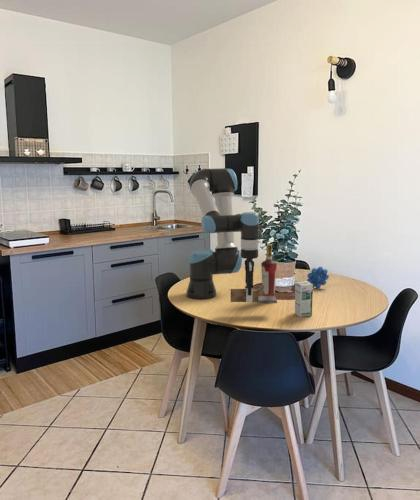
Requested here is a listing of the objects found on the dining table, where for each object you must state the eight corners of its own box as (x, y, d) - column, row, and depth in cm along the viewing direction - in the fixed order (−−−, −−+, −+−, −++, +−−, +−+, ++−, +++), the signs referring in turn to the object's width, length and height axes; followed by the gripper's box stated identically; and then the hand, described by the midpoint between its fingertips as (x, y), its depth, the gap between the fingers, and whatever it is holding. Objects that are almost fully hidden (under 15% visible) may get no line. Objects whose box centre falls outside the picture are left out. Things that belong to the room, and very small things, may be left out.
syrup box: (300, 317, 192) (301, 284, 190) (294, 312, 198) (295, 281, 195) (312, 315, 194) (313, 283, 191) (305, 311, 200) (306, 280, 197)
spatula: (230, 302, 193) (230, 292, 192) (230, 298, 199) (230, 288, 198) (276, 303, 192) (276, 292, 191) (275, 298, 198) (275, 288, 197)
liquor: (258, 299, 218) (258, 244, 213) (271, 298, 220) (272, 242, 215) (265, 304, 211) (266, 246, 206) (278, 302, 214) (279, 245, 209)
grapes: (326, 286, 241) (327, 264, 239) (329, 289, 234) (330, 267, 232) (305, 286, 242) (305, 264, 240) (307, 289, 235) (307, 267, 233)
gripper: (260, 252, 183) (259, 306, 187) (256, 244, 199) (255, 294, 204) (242, 252, 183) (241, 306, 187) (239, 244, 199) (239, 294, 204)
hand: (248, 300), depth 195 cm, fingers closed on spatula, 3 cm apart
